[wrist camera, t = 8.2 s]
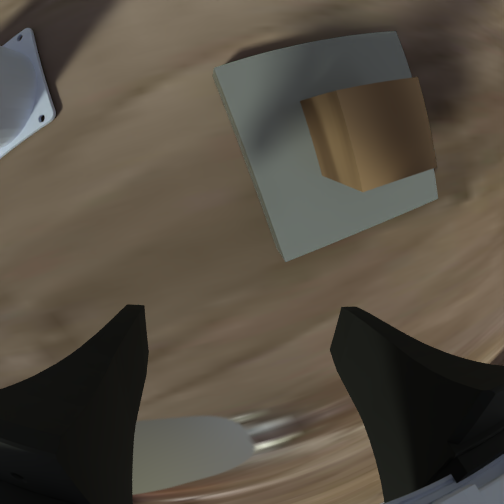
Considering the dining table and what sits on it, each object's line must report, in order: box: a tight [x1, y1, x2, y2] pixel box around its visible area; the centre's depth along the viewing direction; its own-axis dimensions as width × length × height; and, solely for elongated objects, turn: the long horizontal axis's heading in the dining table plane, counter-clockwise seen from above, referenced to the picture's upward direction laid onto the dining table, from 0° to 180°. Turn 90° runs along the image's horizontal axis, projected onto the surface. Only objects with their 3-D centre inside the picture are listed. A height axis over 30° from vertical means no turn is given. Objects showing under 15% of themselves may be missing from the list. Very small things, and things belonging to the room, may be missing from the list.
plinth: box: [213, 31, 438, 262], centre depth 18 cm, size 12×12×2 cm
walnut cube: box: [300, 77, 437, 192], centre depth 14 cm, size 4×4×5 cm
